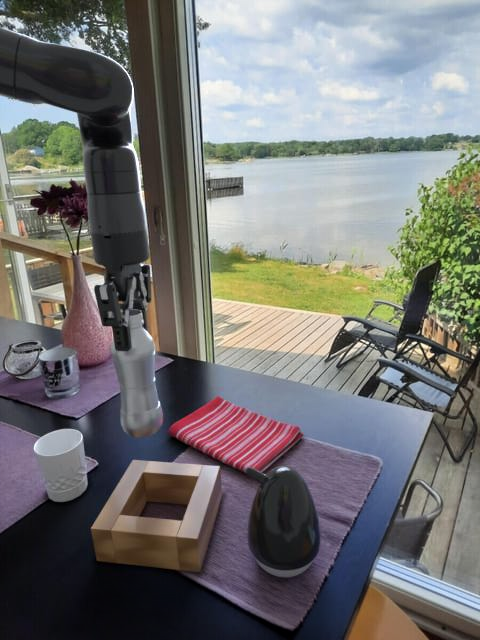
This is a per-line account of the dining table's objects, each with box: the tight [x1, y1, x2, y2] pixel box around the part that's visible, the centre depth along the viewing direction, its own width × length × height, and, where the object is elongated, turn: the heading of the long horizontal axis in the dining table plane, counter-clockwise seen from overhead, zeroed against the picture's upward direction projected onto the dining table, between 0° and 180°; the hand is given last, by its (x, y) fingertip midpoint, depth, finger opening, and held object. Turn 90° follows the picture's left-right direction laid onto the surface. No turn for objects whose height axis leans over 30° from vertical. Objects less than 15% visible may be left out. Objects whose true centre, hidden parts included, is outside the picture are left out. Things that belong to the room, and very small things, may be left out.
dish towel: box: [168, 395, 304, 474], centre depth 92 cm, size 17×24×3 cm
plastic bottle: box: [109, 309, 164, 439], centre depth 67 cm, size 6×7×20 cm
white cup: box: [33, 428, 89, 503], centre depth 77 cm, size 8×8×10 cm
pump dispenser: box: [245, 465, 322, 578], centre depth 61 cm, size 10×10×15 cm
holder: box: [90, 459, 223, 573], centre depth 69 cm, size 16×16×6 cm
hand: (132, 341), depth 66 cm, fingers closed on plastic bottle, 6 cm apart
